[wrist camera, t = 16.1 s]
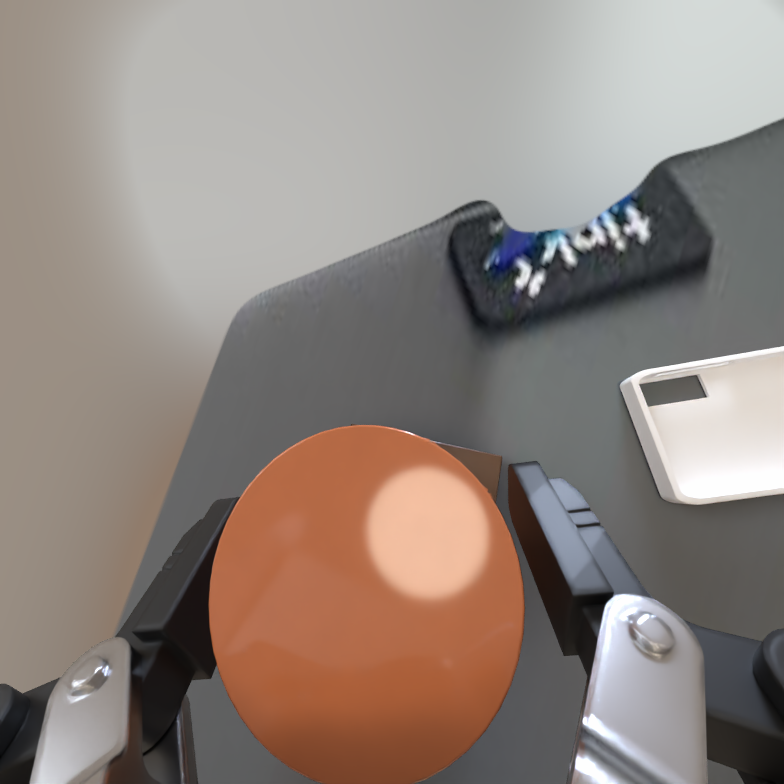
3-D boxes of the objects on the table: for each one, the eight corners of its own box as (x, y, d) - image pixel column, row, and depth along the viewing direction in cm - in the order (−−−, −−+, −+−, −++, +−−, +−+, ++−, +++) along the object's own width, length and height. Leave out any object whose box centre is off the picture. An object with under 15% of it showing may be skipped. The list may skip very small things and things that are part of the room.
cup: (340, 564, 17) (158, 714, 6) (368, 451, 19) (265, 400, 8) (454, 598, 16) (498, 866, 5) (474, 475, 18) (544, 459, 6)
